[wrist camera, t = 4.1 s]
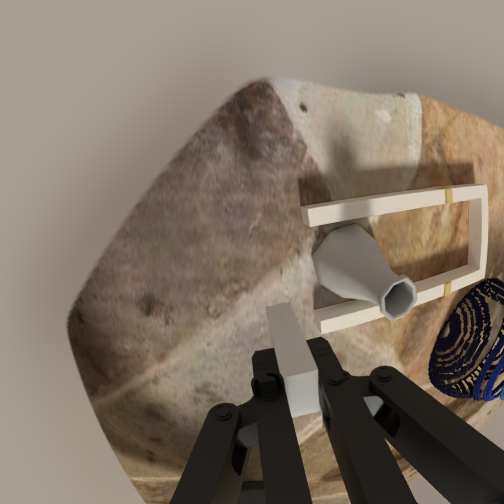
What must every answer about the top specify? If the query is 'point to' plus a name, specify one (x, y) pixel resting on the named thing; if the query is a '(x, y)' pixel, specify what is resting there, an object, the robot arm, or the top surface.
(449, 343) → the decorative bowl
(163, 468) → the top surface
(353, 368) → the top surface
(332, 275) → the flask
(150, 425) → the top surface
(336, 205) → the u-shaped frame
